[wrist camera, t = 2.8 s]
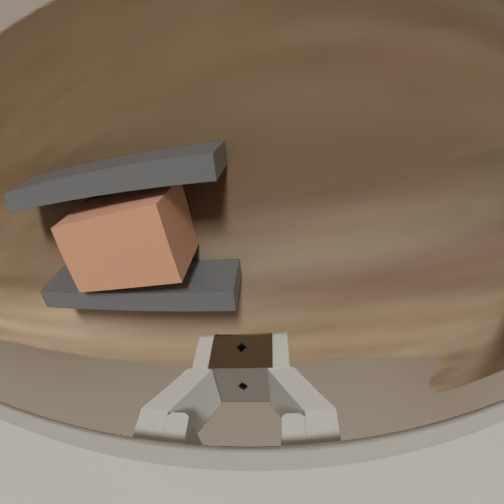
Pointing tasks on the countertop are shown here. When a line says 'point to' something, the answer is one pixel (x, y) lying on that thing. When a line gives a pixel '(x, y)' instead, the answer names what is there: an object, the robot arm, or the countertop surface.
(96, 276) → the block
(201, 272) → the channel
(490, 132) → the countertop surface
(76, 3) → the countertop surface
